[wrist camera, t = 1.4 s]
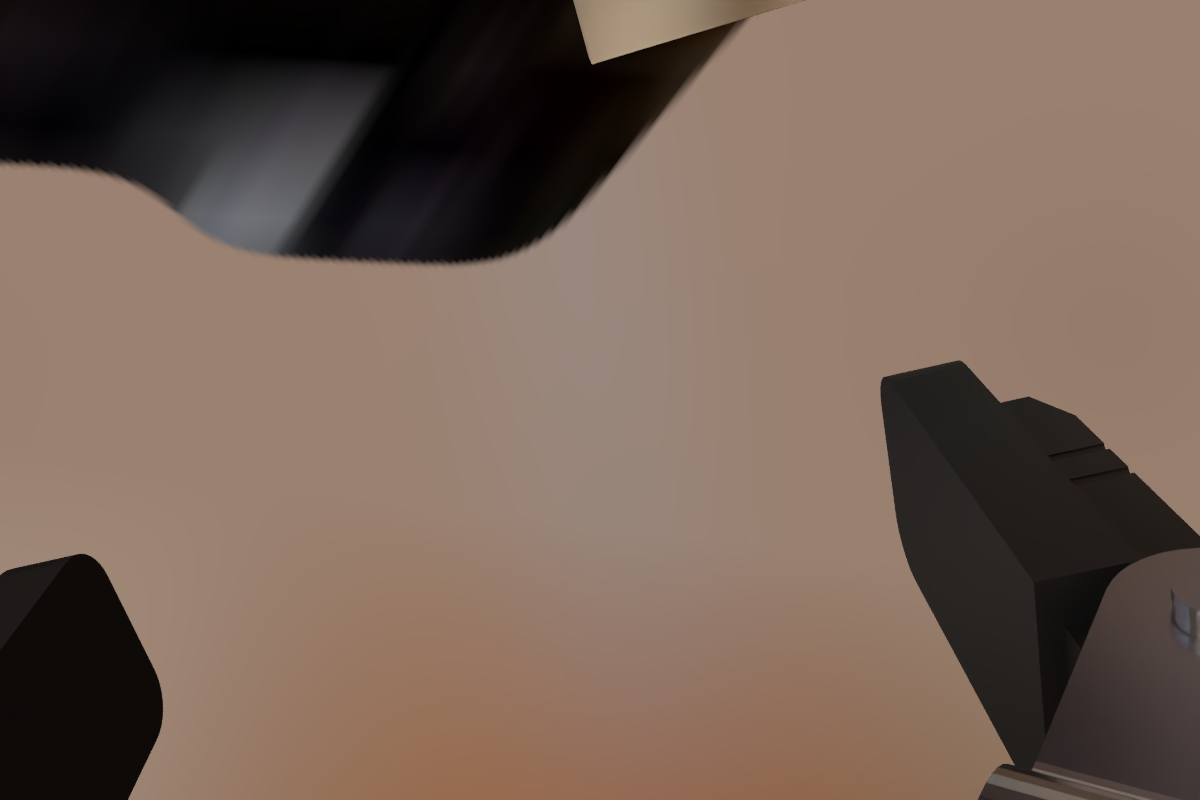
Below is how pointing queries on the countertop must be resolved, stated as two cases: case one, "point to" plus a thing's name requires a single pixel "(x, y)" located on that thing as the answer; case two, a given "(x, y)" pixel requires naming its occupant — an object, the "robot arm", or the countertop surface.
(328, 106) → the countertop surface
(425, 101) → the countertop surface
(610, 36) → the stand
